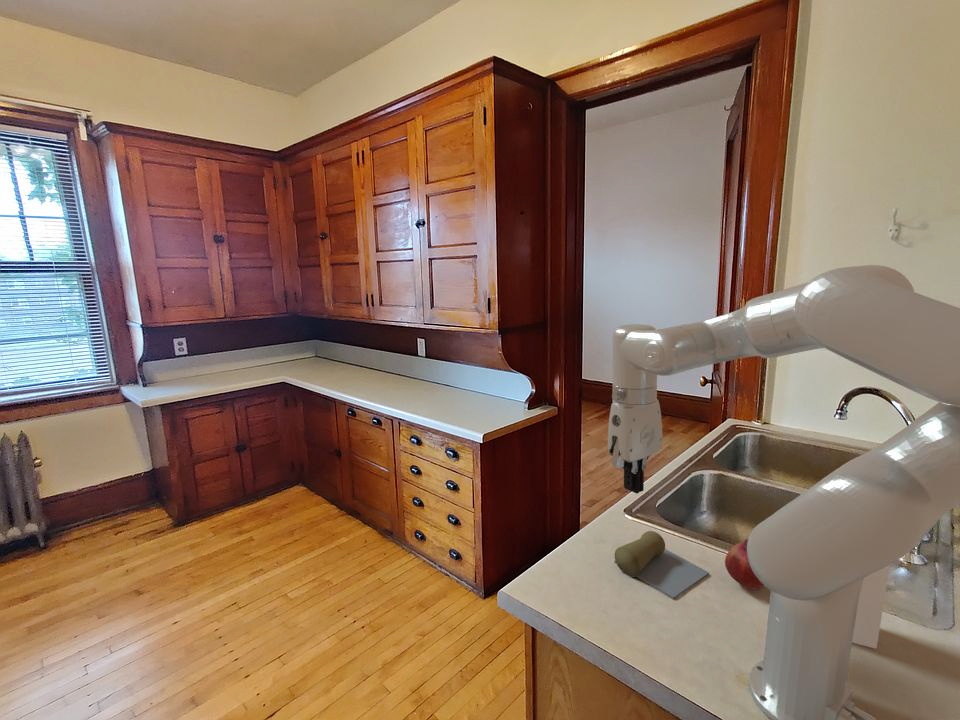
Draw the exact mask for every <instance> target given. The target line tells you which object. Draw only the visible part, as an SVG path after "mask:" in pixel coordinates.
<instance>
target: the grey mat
mask: <svg viewBox="0 0 960 720" xmlns="http://www.w3.org/2000/svg"><path fill="white" fill-rule="evenodd" d="M614 564H616V565H617V563H616V561H615V560H614ZM709 575H710V572H709V571H707V570H705V569H704V568H702V567H700V566H697V565H696V564H695V563H692V562H690V561H688V560H687V559H685V558H683V557H681V556H679V555H677V554H675V553H674V552H672V551H670V550H668V549H667V548H665V550H664V552H663V553H662V554H661V555H660V556H657V557H653V558H652V559H651V561H650V562H649V563H648V564H647V565H646V566H645V567H644V568H643V570H642V571H641V572H640V573H639V574H638V575H637V576H636V577H637V578H638V579H639V580H641V581H643V582H645V583H646V584H647V585H649V586H651V587H653V588H654V589H655V590H656V591H659V592H660V593H661V594H664V596H666V597H668V598H670V599H671V600H675V599H676V598H678V597H680V596H681V595H682V594H683V593H685V592H686V591H688V590H689V589H690V588H692V587H694V586H696V584H698V583H700V582H701V581H702V580H704V579H705V578H707V577H709Z"/></svg>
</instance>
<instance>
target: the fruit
mask: <svg viewBox="0 0 960 720" xmlns="http://www.w3.org/2000/svg"><path fill="white" fill-rule="evenodd" d="M748 539H749V537H748V538H746V539H745V540H744V541H743V542H739V543H736V544H734V545H733V546H732V547H730V548H729V550H728V552H727V554H726V556H725V559H724V566H725V568H726V571H727V573H728V574H729V577H731V578H732V579H733V580H734V581H735V582H736V583H738V584H739V585H741V587H743V588H745V589H746V588H747V589H748V590H755V589H761V588H763V587H766V586H765V585H764V584H762V583H761V582H760V581H759V579H758V578H757V577H756V575H755V574H754V572H753V571H752V569H751V566H750V564H749V561H748V556H747V543H748Z"/></svg>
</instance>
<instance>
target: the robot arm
mask: <svg viewBox="0 0 960 720" xmlns="http://www.w3.org/2000/svg"><path fill="white" fill-rule="evenodd" d="M824 348H825V349H826V350H828V351H829V352H832V353H833V354H835V355H837V356H839V357H841V358H844V359H846V360H848V361H849V362H851V363H853V364H856V365H858V366H859V367H862V368H864V369H865V370H868V371H870V372H872V373H875V374H876V375H879V376H881V377H883V378H885V379H887V380H888V381H892V382H893V383H895V384H898V385H900V386H901V387H904V388H906V389H907V390H909V391H912V392H914V393H917V394H918V395H921V396H923V397H925V398H927V399H931V400H933V401H935V402H937V403H936V404H935V405H934V406H932V407H931V408H930V409H928V410H927V411H925V412H924V413H923V414H922V415H921V414H920V416H918V417H917V418H916V419H914V420H913V421H912V422H910V423H909V424H908V425H907V426H906V427H904V428H902V429H901V430H900V431H898V432H897V433H896V434H894V435H892V436H891V437H890V438H888V439H887V440H885V441H884V442H882V443H880V444H879V445H877V446H876V447H874V448H873V449H871V450H869V451H867V452H865V453H864V454H861V455H859V456H856V457H854V458H853V459H851V460H849V461H847V462H846V463H844V464H842V465H841V466H839V467H838V468H836V469H835V470H834V471H832V472H831V473H829V474H828V475H826V476H825V477H823V478H822V479H820V480H819V481H818V482H816V483H815V484H814V485H812V486H811V487H810V488H808V489H807V490H805V491H804V492H802V493H801V494H800V495H798V496H797V497H795V498H794V499H793V500H791V501H789V502H788V503H787V504H785V505H784V506H782V507H781V508H780V509H778V510H776V511H775V512H774V513H773V514H771V515H770V516H769V517H767V518H766V519H764V520H763V521H761V522H759V523H758V524H756V525H755V527H754V528H753V529H752V530H751V532H750V533H749V537H748V538H749V539H748V538H747V539H748V543H747V556H748V561H749V564H750V566H751V569H752V571H753V572H754V574H755V575H756V577H757V578H758V579H759V581H760V582H761V583H762V584H764V585H765V586H764V587H766V588H767V589H768V590H770V596H769V606H768V607H769V608H768V615H767V625H766V626H767V627H766V633H765V634H766V635H765V644H764V645H765V646H764V655H763V660H762V661H759V662H757V663H756V664H755V665H754V666H753V667H752V668H751V671H750V672H749V680H748V683H749V690H750V693H751V696H752V697H753V699H754V701H755V703H756V704H757V705H758V706H759V708H760V709H761V710H762V711H763V712H764V713H765V715H766V716H767V717H768V718H769V719H771V720H877V718H876V717H874V716H873V715H871V714H870V713H868V712H867V711H864V710H862V709H860V708H858V707H857V706H856V703H854V702H853V701H852V698H853V692H854V691H853V689H852V688H850V687H848V686H847V680H848V671H849V664H850V658H851V651H852V644H853V643H852V639H853V632H854V626H855V621H856V614H857V607H858V602H859V597H860V592H861V588H862V584H863V580H864V578H865V577H867V576H869V575H871V574H873V573H875V572H877V571H879V570H881V569H883V568H884V567H886V566H888V565H892V564H893V563H895V562H897V561H898V560H900V559H902V558H903V557H904V556H906V555H908V554H909V553H911V551H912V550H913V549H915V548H916V547H917V546H918V544H920V542H921V541H922V540H923V539H924V538H925V537H926V535H927V534H928V533H929V532H930V531H931V530H932V528H933V527H935V525H936V524H937V522H938V521H939V520H940V519H941V518H942V517H943V516H944V515H946V514H947V513H948V512H950V511H952V509H954V508H956V507H958V506H959V505H960V307H958V306H955V305H952V304H949V303H945V302H944V301H940V300H937V299H934V298H931V297H929V296H927V295H923V294H920V293H917V292H915V290H914V286H913V285H912V283H911V281H910V280H909V279H908V278H907V277H906V276H905V275H904V274H903V273H901V272H900V271H898V270H896V269H895V268H892V267H888V266H886V265H879V264H867V265H866V264H865V265H857V266H855V265H854V266H845V267H838V268H833V269H831V270H827V271H825V272H823V273H821V274H818V275H817V276H815V277H814V278H811V279H810V280H809V281H808V282H804V283H801V284H798V285H794V286H791V287H788V288H785V289H782V290H776V291H773V292H771V293H766V294H764V295H760V296H756V297H754V298H751V299H750V300H747V302H745V305H744V307H741V308H740V309H737V310H734V311H732V312H728V313H725V314H722V315H718V316H715V317H711V318H708V319H707V318H706V319H703V320H701V321H697V322H696V321H695V322H693V323H686V324H681V325H675V326H670V327H665V328H659V329H656V328H655V327H654V326H652V325H649V324H642V323H641V324H636V323H634V324H624V325H619V326H617V327H616V328H614V330H613V332H612V394H611V398H612V403H611V405H610V411H609V418H608V429H607V449H608V454H609V455H610V456H612V458H611V463H610V464H611V466H614V467H616V468H621V469H622V470H623V488H624V489H625V490H628V491H629V492H632V493H634V494H639V493H641V492H643V491H644V488H645V487H644V486H645V485H644V482H645V481H644V480H645V479H644V476H645V474H644V473H645V472H644V471H646V469H647V462H648V460H649V458H650V457H651V456H652V455H654V454H657V453H658V452H660V451H661V450H662V448H663V425H662V424H663V421H662V412H661V404H660V402H659V399H658V398H657V397H658V376H663V377H665V376H666V377H667V376H673V375H677V374H681V373H685V372H686V371H690V370H694V369H699V368H702V367H706V366H711V365H715V364H720V363H725V362H729V361H733V360H738V359H743V358H750V357H751V358H752V357H761V358H762V359H773V358H774V359H775V358H778V357H783V356H787V355H793V354H797V353H798V354H799V353H803V352H809V351H813V350H817V349H824Z"/></svg>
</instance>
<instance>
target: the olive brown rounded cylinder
mask: <svg viewBox="0 0 960 720" xmlns="http://www.w3.org/2000/svg"><path fill="white" fill-rule="evenodd" d="M665 549H666V543H665V539H664V538H663V537H662V535H661V534H660V533H658V532H657V531H654V530H653V531H652V530H648V531H645V532H644V533H643V534H641V536H640V538H639V539H636V540H634V541H631V542H629V543H627V544H624V545H621V546H618V547H617V548H616V549H615V551H614V562H615V561H616V563H617V564H616V563H615V564H616V566H617V567H618V568H619V570H620V571H621V572H622V573H623V574H624V575H626V576H629V577H637V575H638V574H639V573H640V572H641V571H642V570H643V568H644V567H645V566H646V565H647V564H648V563H649V562H650V561H651V559H652V558H653V557H657V556H660V555H661V554H662V553H663V552H664V550H665Z"/></svg>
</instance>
